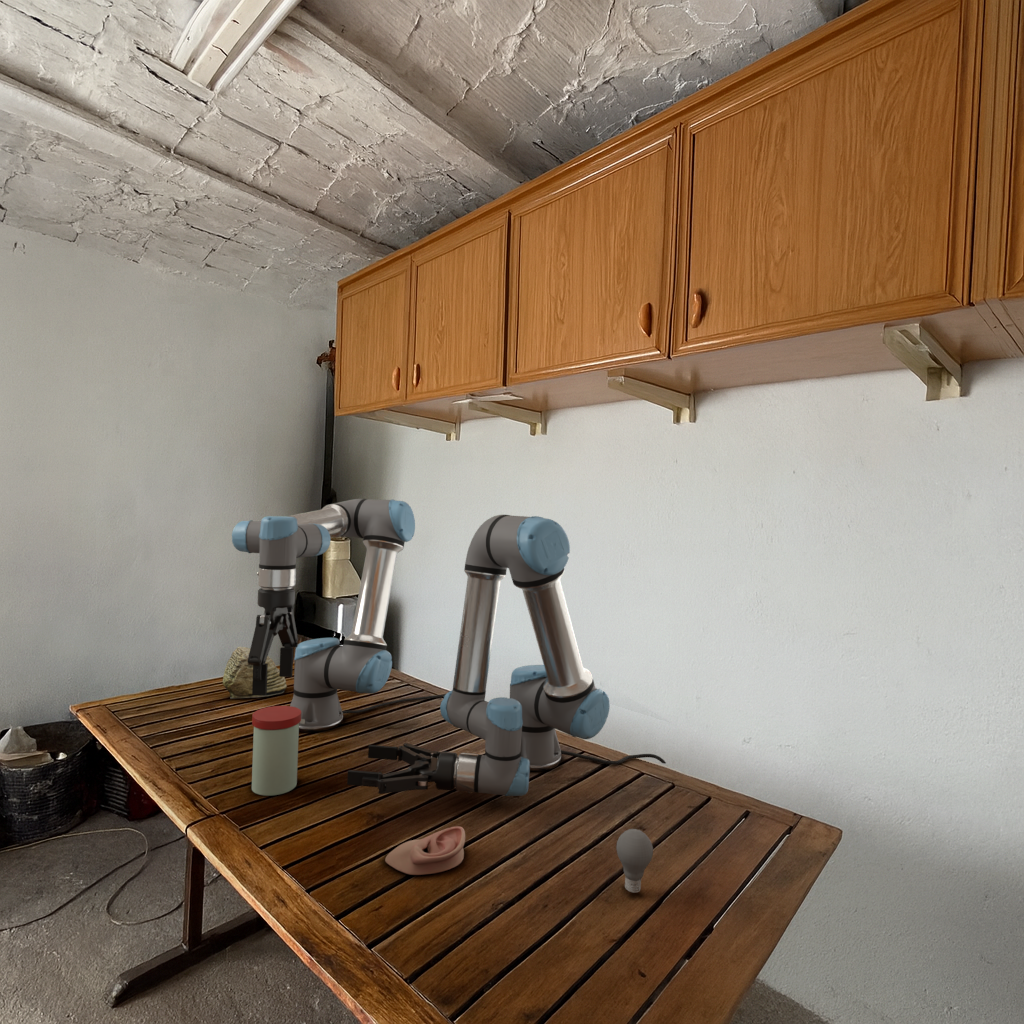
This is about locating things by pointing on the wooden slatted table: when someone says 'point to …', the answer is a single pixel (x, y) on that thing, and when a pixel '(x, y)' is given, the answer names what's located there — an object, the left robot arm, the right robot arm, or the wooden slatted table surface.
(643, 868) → the light bulb
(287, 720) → the lid
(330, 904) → the wooden slatted table surface
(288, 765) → the jar
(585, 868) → the wooden slatted table surface
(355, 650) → the left robot arm
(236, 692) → the fossil
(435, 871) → the anatomical model
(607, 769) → the wooden slatted table surface
